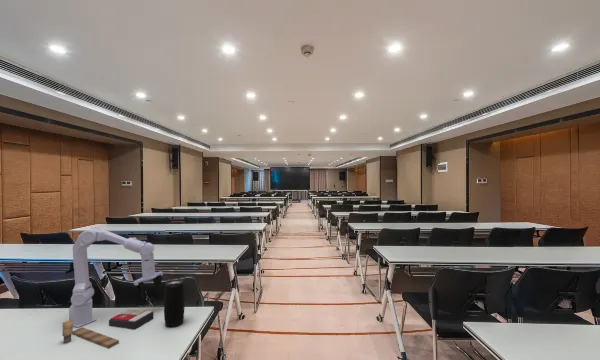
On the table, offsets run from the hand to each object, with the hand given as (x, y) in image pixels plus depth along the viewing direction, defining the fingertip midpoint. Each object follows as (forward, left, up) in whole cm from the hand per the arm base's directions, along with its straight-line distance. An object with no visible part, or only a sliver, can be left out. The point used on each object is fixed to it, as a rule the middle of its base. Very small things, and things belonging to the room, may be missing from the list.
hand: (150, 294), depth 139 cm
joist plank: (0, -26, -10) cm, 27 cm away
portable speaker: (+20, -3, -10) cm, 23 cm away
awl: (-8, -32, -10) cm, 34 cm away
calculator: (0, -10, -10) cm, 14 cm away
